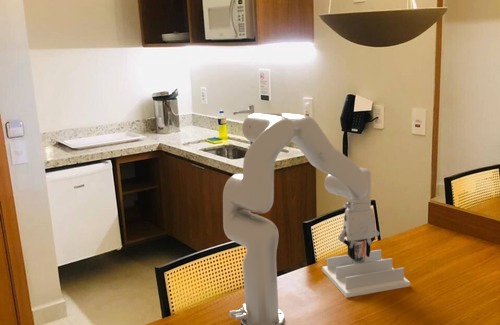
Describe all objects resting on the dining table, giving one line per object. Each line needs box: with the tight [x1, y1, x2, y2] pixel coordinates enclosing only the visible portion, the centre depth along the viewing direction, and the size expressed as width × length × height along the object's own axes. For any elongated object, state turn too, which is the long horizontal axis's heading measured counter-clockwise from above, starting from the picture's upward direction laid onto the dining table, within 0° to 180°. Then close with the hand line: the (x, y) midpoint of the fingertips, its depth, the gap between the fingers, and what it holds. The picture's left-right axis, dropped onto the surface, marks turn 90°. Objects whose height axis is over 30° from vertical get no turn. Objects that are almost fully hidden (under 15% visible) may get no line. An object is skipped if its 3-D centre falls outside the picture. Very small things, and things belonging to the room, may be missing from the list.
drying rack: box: [321, 249, 411, 299], centre depth 173 cm, size 22×20×6 cm
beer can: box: [352, 239, 366, 264], centre depth 175 cm, size 5×5×12 cm
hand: (359, 255), depth 175 cm, fingers closed on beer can, 4 cm apart
